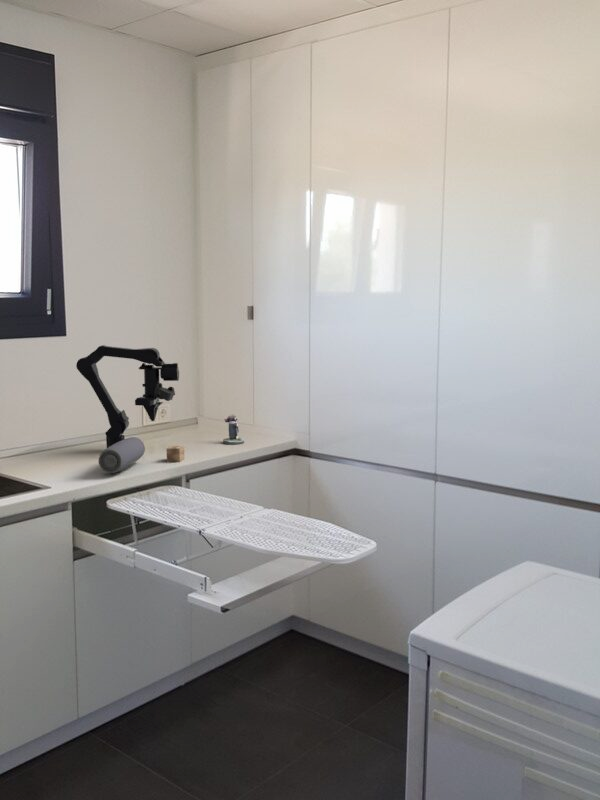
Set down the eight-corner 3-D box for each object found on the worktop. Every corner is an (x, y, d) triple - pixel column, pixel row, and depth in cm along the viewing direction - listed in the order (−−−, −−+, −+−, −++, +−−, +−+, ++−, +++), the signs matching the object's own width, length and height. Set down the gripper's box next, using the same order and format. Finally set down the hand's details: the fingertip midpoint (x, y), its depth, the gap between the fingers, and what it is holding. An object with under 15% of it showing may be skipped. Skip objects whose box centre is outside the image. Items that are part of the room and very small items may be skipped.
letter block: (166, 461, 292) (166, 448, 291) (171, 459, 296) (171, 445, 296) (179, 462, 291) (179, 448, 290) (184, 459, 295) (184, 445, 295)
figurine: (229, 445, 320) (228, 416, 318) (219, 442, 327) (218, 413, 325) (247, 443, 325) (247, 414, 323) (237, 440, 332) (237, 411, 330)
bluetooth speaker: (122, 462, 292) (121, 435, 290) (146, 462, 290) (145, 435, 289) (97, 476, 270) (95, 447, 268) (123, 477, 268) (122, 448, 267)
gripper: (161, 384, 296) (162, 425, 298) (180, 378, 314) (181, 418, 316) (133, 383, 299) (135, 424, 301) (154, 378, 317) (155, 416, 319)
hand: (152, 420), depth 309 cm, fingers closed
